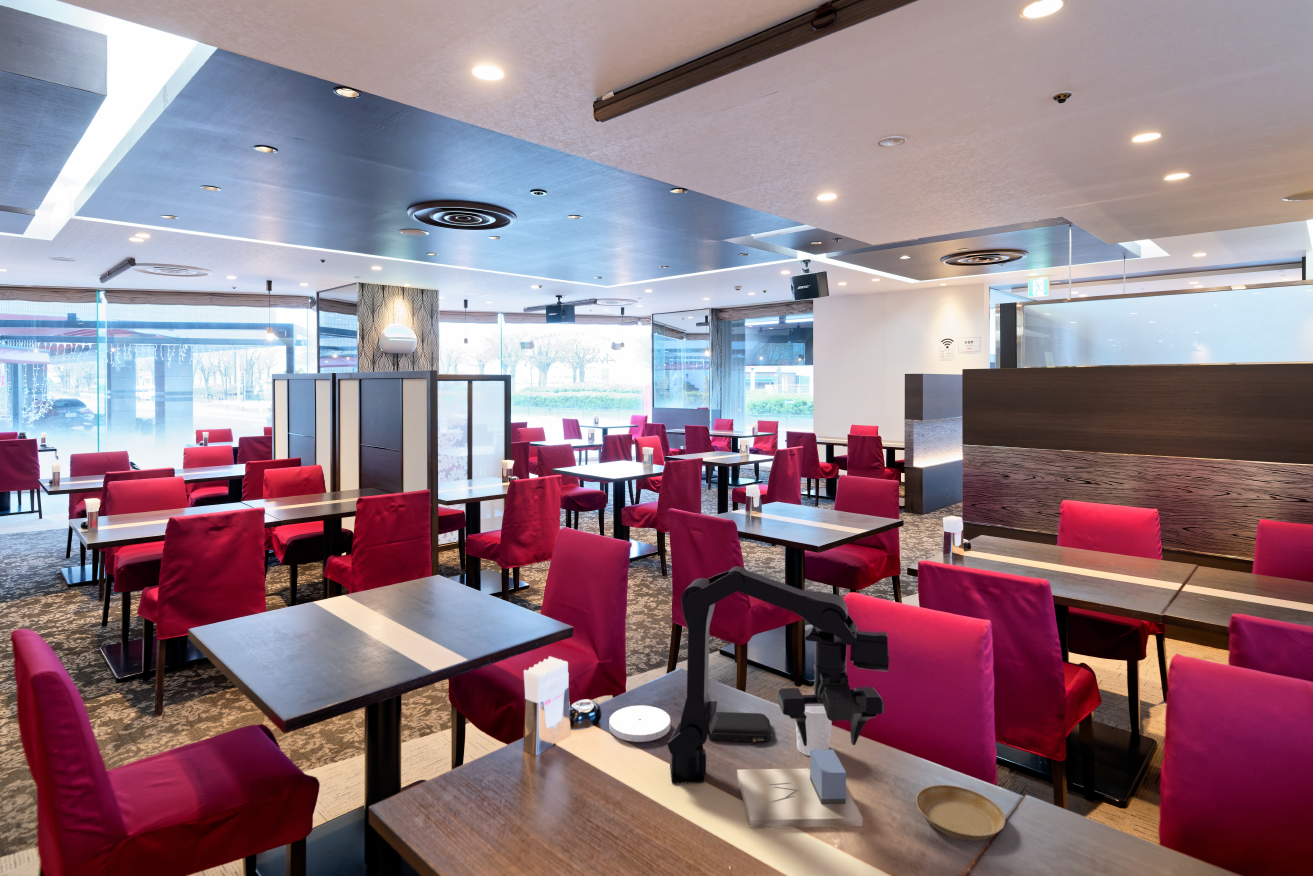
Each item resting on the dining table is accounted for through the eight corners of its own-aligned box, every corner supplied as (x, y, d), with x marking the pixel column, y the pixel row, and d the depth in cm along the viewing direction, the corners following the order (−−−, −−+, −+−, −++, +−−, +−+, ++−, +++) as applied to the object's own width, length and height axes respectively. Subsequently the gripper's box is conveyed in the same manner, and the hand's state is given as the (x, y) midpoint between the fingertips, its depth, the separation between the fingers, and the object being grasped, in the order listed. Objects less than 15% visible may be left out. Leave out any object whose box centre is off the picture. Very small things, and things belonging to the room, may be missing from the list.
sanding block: (821, 804, 125) (821, 773, 124) (809, 779, 133) (810, 749, 132) (845, 803, 125) (846, 772, 125) (832, 778, 133) (833, 749, 132)
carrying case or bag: (705, 745, 149) (773, 747, 148) (706, 732, 149) (773, 734, 148) (705, 721, 160) (768, 723, 159) (705, 709, 159) (768, 711, 158)
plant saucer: (1001, 861, 112) (1001, 846, 112) (908, 831, 120) (908, 816, 120) (1008, 813, 125) (1008, 800, 125) (923, 789, 133) (923, 776, 132)
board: (750, 828, 120) (750, 820, 120) (737, 776, 136) (737, 769, 136) (862, 826, 121) (862, 818, 121) (835, 775, 137) (835, 767, 137)
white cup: (828, 740, 150) (829, 697, 150) (834, 760, 142) (835, 714, 142) (792, 738, 151) (793, 695, 150) (796, 758, 143) (797, 712, 143)
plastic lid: (602, 743, 149) (602, 732, 149) (616, 713, 163) (616, 703, 163) (665, 748, 147) (665, 737, 147) (674, 718, 161) (674, 707, 161)
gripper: (790, 683, 118) (789, 769, 120) (896, 681, 119) (894, 767, 120) (777, 658, 130) (776, 737, 131) (874, 656, 130) (872, 735, 131)
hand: (828, 744), depth 128 cm, fingers open, 9 cm apart
